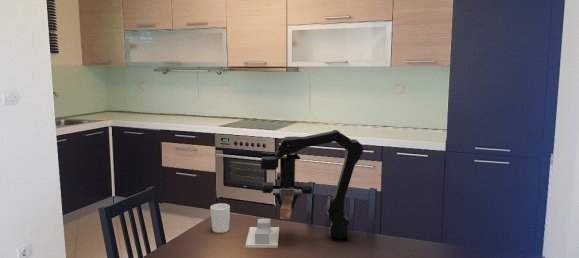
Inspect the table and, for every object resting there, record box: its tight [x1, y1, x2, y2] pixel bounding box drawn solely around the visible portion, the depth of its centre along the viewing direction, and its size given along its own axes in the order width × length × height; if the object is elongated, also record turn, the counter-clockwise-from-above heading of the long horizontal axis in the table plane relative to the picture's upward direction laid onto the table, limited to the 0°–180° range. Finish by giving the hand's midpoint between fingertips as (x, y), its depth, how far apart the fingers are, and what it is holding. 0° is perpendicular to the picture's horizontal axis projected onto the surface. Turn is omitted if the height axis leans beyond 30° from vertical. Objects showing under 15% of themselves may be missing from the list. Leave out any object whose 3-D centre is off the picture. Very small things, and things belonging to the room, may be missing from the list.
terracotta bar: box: [279, 195, 293, 220], centre depth 180 cm, size 4×15×4 cm, turn 175°
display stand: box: [245, 218, 280, 249], centre depth 183 cm, size 12×18×5 cm, turn 179°
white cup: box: [209, 203, 231, 234], centre depth 191 cm, size 8×8×10 cm
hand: (286, 209), depth 181 cm, fingers closed on terracotta bar, 4 cm apart
